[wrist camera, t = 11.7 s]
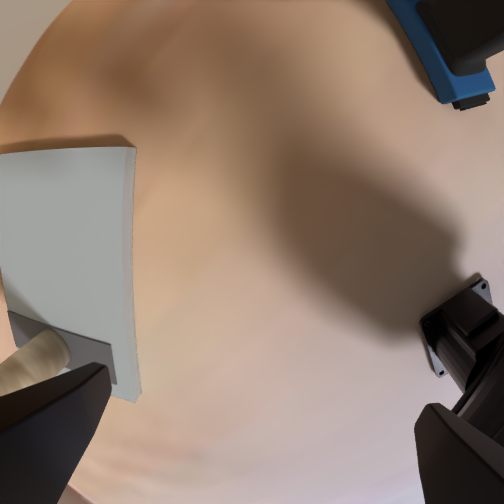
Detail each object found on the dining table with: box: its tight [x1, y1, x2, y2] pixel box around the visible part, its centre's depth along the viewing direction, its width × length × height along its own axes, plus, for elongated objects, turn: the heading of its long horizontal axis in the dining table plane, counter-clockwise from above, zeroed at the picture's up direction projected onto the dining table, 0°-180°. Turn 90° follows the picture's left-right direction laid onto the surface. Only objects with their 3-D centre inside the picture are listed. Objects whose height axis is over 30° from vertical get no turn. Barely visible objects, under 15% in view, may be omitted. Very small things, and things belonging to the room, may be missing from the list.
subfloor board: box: [0, 147, 142, 403], centre depth 21 cm, size 20×14×2 cm
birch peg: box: [0, 329, 71, 396], centre depth 16 cm, size 4×4×11 cm
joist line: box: [7, 310, 117, 385], centre depth 22 cm, size 12×4×1 cm, turn 84°
